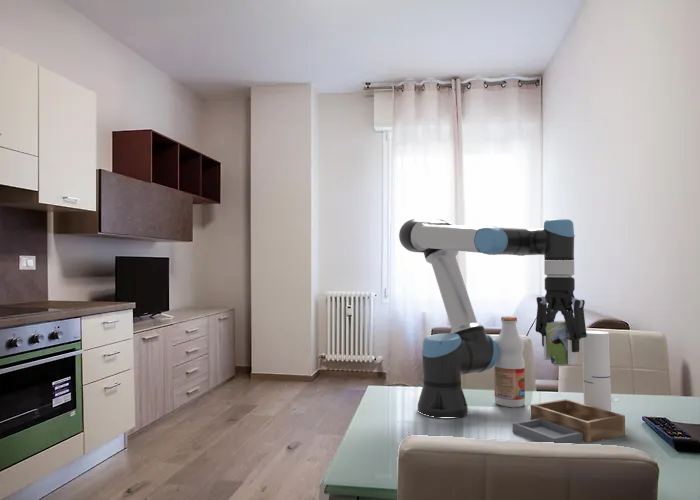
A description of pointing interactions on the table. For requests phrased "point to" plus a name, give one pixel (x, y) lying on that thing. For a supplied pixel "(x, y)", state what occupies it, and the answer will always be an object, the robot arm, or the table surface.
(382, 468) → the table surface
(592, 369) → the cylindrical container
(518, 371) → the fruit juice
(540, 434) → the tray
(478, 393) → the table surface
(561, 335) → the beverage can
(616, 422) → the crate
